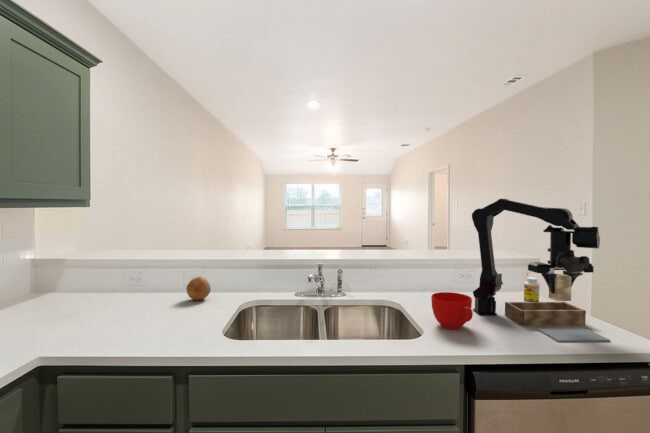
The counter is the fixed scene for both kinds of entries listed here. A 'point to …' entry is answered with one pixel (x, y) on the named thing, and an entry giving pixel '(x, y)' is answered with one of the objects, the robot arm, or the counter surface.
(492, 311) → the robot arm
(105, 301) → the counter surface
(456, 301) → the ceramic cup
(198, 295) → the onion
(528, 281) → the supplement bottle
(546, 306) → the walnut crate
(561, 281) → the maple block
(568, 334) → the slate mat
